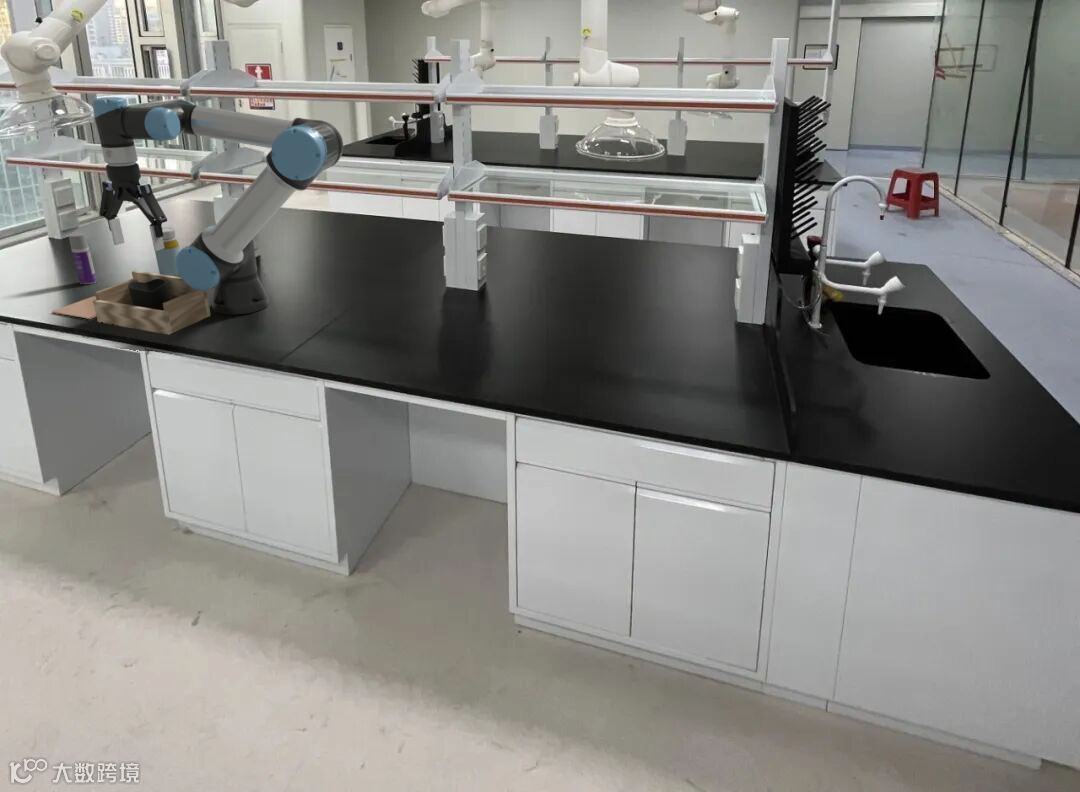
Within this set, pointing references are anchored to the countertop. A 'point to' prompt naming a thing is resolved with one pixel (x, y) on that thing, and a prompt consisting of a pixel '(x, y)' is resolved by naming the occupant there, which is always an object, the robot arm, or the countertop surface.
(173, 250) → the bottle
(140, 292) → the pen holder
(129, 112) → the robot arm
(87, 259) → the container
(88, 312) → the terracotta tile
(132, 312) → the open wooden box
